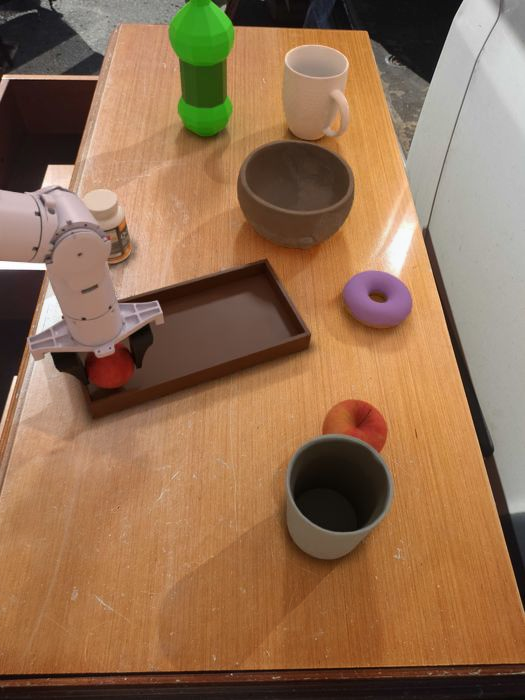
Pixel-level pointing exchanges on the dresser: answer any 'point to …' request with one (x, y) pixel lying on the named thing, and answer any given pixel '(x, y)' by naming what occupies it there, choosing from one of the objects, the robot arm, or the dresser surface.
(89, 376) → the pomegranate
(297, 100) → the mug
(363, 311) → the donut
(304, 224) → the bowl
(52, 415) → the dresser surface
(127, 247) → the pill bottle
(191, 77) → the plastic bottle
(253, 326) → the brown dish
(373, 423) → the apple
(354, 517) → the gray cup
